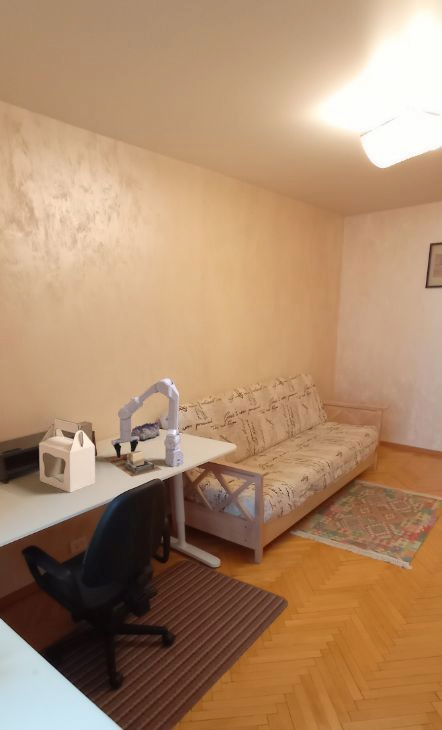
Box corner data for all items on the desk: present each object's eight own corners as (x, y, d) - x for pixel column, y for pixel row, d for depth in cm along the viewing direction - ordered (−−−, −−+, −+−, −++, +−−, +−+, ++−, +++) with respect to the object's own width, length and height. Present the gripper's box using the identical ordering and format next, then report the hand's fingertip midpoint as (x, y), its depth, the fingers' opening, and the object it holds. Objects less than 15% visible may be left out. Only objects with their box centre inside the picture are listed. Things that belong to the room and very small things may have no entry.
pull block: (149, 462, 208) (148, 450, 208) (128, 467, 200) (127, 455, 200) (133, 458, 221) (133, 447, 221) (112, 463, 213) (112, 451, 213)
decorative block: (75, 466, 206) (74, 427, 204) (68, 464, 209) (67, 425, 207) (93, 460, 215) (92, 422, 213) (85, 458, 219) (85, 421, 216)
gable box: (95, 483, 186) (95, 421, 183) (70, 493, 175) (69, 427, 172) (64, 472, 198) (63, 414, 195) (39, 481, 187) (37, 419, 184)
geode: (149, 432, 272) (151, 417, 270) (163, 437, 266) (165, 422, 264) (126, 438, 255) (128, 422, 253) (140, 444, 249) (142, 428, 247)
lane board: (162, 471, 202) (162, 464, 202) (131, 478, 192) (131, 471, 192) (131, 454, 227) (131, 447, 226) (103, 459, 217) (103, 453, 216)
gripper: (134, 426, 221) (134, 451, 222) (108, 430, 212) (109, 456, 213) (141, 429, 215) (141, 455, 217) (114, 433, 206) (114, 460, 208)
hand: (125, 456), depth 214 cm, fingers open, 7 cm apart
